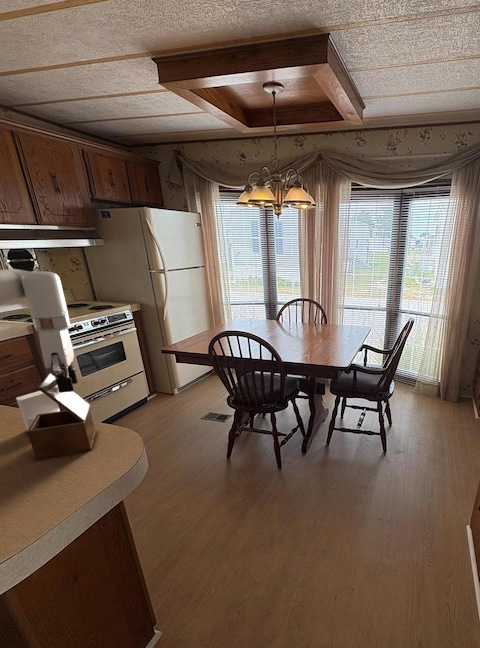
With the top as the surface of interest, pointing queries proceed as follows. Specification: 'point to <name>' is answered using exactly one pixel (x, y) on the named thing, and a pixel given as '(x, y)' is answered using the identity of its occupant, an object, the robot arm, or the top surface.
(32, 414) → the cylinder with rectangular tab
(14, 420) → the top surface
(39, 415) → the compartment
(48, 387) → the compartment lid
